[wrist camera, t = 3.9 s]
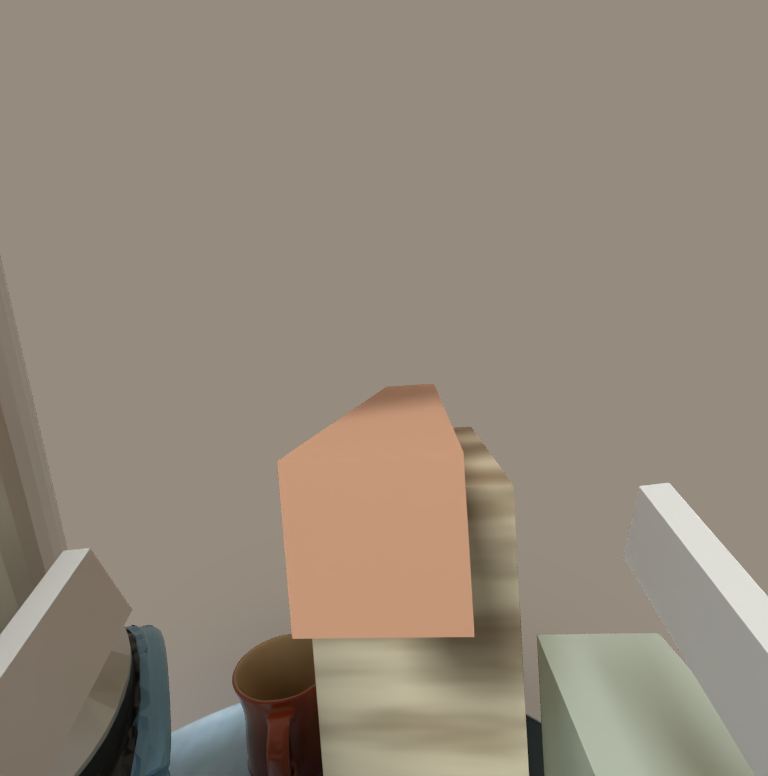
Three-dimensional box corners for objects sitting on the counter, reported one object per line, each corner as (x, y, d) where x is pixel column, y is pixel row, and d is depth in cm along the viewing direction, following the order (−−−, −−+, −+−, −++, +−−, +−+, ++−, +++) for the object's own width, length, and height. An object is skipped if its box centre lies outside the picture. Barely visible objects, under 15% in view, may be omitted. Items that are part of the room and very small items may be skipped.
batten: (474, 637, 9) (463, 451, 9) (292, 638, 10) (277, 461, 9) (436, 430, 37) (433, 383, 37) (389, 433, 38) (386, 386, 37)
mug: (251, 741, 43) (242, 640, 42) (341, 725, 44) (333, 627, 43) (223, 884, 31) (210, 747, 30) (346, 858, 32) (336, 725, 31)
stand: (545, 1080, 22) (513, 485, 20) (346, 1064, 23) (300, 494, 21) (490, 754, 39) (471, 426, 38) (380, 753, 40) (357, 432, 39)
